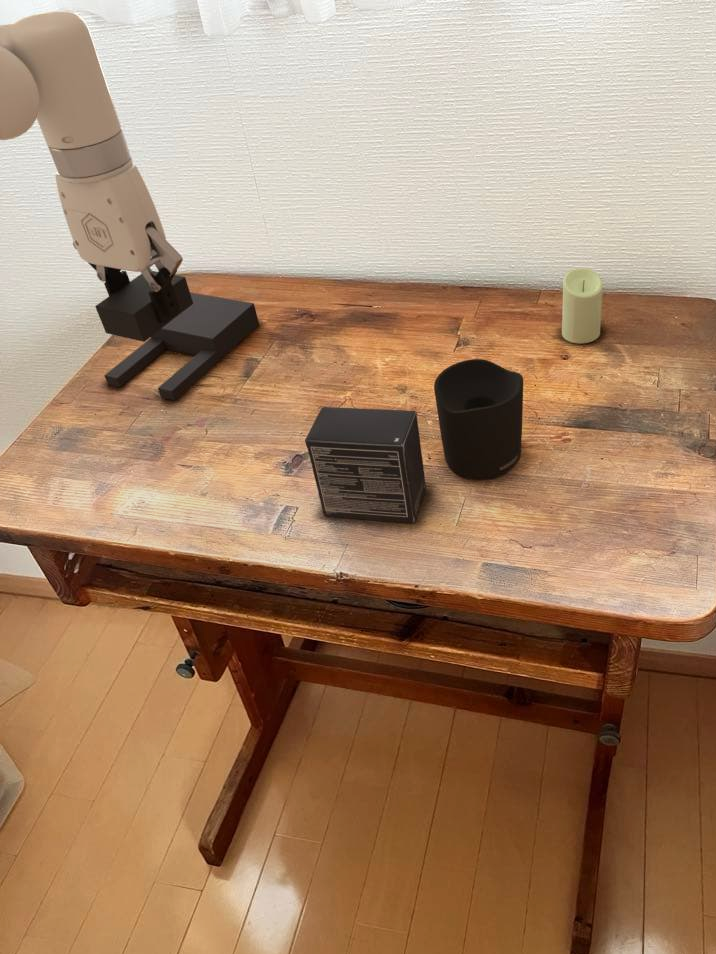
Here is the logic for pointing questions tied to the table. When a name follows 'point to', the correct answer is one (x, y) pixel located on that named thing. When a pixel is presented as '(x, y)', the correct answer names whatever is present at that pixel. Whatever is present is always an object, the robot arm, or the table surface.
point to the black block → (138, 309)
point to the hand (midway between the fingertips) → (147, 311)
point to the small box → (367, 463)
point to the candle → (581, 305)
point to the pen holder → (480, 417)
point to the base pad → (192, 341)
